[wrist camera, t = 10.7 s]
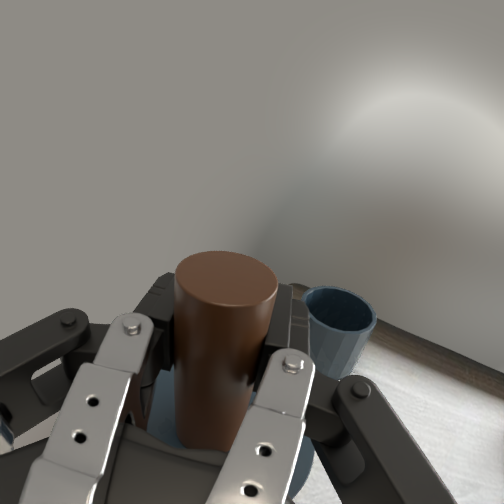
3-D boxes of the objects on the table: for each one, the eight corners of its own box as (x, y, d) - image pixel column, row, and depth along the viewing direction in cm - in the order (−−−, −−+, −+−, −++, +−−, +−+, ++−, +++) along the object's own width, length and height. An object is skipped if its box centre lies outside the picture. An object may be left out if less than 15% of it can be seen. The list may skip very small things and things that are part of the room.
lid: (65, 464, 9) (-23, 299, 5) (165, 345, 18) (168, 194, 14) (278, 561, 7) (406, 492, 3) (323, 399, 16) (387, 253, 12)
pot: (279, 368, 35) (294, 319, 31) (294, 324, 43) (308, 278, 39) (352, 388, 33) (377, 342, 30) (356, 341, 41) (375, 297, 37)
